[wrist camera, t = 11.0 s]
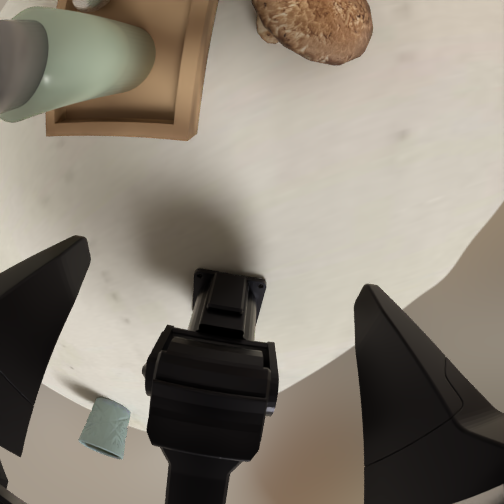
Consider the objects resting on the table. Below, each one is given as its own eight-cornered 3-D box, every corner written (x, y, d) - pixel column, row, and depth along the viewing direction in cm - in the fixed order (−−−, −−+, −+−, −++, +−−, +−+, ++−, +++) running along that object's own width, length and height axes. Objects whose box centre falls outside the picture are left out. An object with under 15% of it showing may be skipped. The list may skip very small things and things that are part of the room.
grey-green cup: (85, 393, 48) (69, 436, 38) (116, 397, 46) (100, 447, 36) (112, 413, 54) (100, 454, 44) (143, 418, 52) (131, 463, 42)
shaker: (129, 105, 16) (-21, 169, 5) (80, 75, 14) (-68, 117, 4) (170, 43, 14) (23, 17, 3) (116, 16, 12) (-34, -1, 1)
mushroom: (218, 64, 13) (279, 9, 7) (225, -25, 11) (274, -79, 6) (328, 91, 16) (402, 71, 11) (321, 8, 15) (380, -22, 9)
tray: (197, 133, 18) (187, 141, 16) (64, 128, 18) (46, 136, 16) (228, -41, 10) (222, -54, 8) (82, -21, 10) (65, -26, 8)
